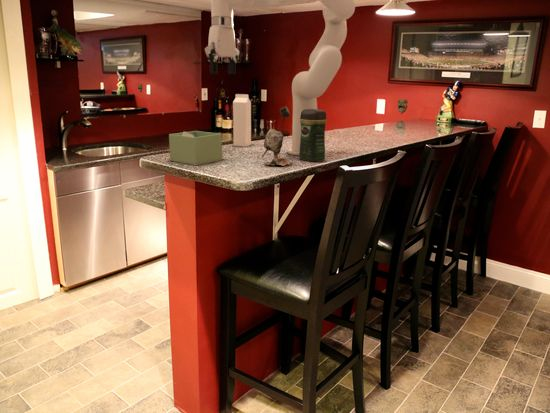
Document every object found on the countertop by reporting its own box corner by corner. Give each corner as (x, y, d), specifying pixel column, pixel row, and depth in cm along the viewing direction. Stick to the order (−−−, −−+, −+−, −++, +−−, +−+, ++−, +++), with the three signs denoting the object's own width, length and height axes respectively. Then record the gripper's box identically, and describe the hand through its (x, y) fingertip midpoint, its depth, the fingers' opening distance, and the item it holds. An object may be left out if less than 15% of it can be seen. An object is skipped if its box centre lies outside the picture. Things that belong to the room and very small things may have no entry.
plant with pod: (272, 160, 163) (272, 105, 157) (295, 165, 156) (297, 106, 150) (256, 163, 157) (256, 105, 152) (279, 168, 150) (280, 107, 144)
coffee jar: (328, 160, 164) (330, 109, 159) (311, 163, 160) (313, 110, 155) (311, 156, 172) (313, 107, 167) (295, 158, 168) (296, 108, 162)
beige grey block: (194, 135, 159) (183, 130, 158) (189, 146, 157) (179, 142, 157) (193, 139, 163) (182, 135, 163) (188, 150, 162) (178, 146, 162)
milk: (238, 144, 201) (238, 93, 195) (251, 145, 199) (251, 94, 193) (233, 146, 195) (232, 94, 189) (246, 146, 194) (245, 94, 187)
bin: (222, 159, 164) (221, 133, 161) (196, 165, 153) (195, 137, 151) (196, 155, 171) (195, 130, 168) (170, 160, 161) (168, 134, 158)
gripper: (230, 26, 166) (231, 74, 171) (197, 21, 153) (198, 73, 158) (246, 25, 162) (246, 74, 167) (213, 20, 149) (214, 73, 154)
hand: (223, 73), depth 162 cm, fingers open, 9 cm apart
